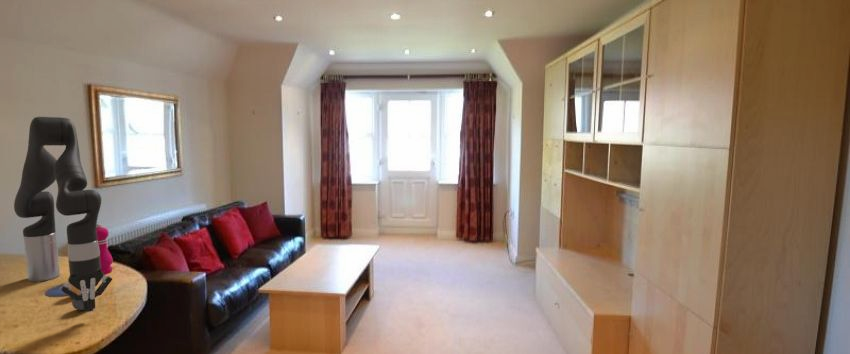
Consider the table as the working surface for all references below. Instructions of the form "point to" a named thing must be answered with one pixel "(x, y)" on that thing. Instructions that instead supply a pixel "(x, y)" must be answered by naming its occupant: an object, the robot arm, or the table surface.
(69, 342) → the table surface
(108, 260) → the pepper mill
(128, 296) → the table surface
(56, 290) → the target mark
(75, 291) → the object ball
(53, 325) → the table surface
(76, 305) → the gray ball
